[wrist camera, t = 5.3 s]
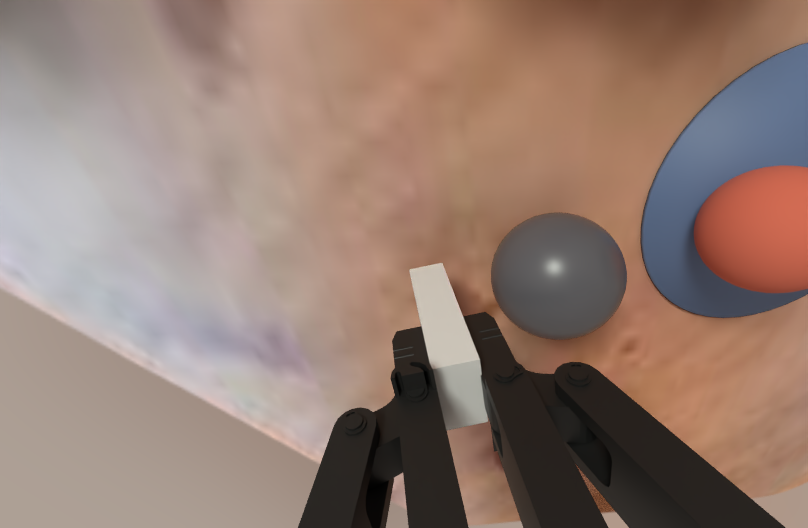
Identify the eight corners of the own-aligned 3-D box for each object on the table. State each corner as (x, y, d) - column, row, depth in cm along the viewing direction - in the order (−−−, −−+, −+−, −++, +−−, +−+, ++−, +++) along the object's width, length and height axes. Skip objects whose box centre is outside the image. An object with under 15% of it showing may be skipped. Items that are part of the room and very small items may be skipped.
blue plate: (993, 103, 19) (999, 103, 19) (783, 338, 24) (786, 340, 24) (772, -21, 16) (777, -22, 15) (589, 281, 21) (591, 283, 21)
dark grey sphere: (447, 278, 17) (492, 224, 21) (518, 376, 18) (549, 307, 22) (564, 224, 13) (593, 171, 17) (648, 352, 14) (657, 273, 18)
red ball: (659, 193, 21) (773, 173, 20) (680, 299, 20) (796, 281, 20) (738, 162, 15) (896, 134, 15) (768, 307, 15) (931, 282, 14)
